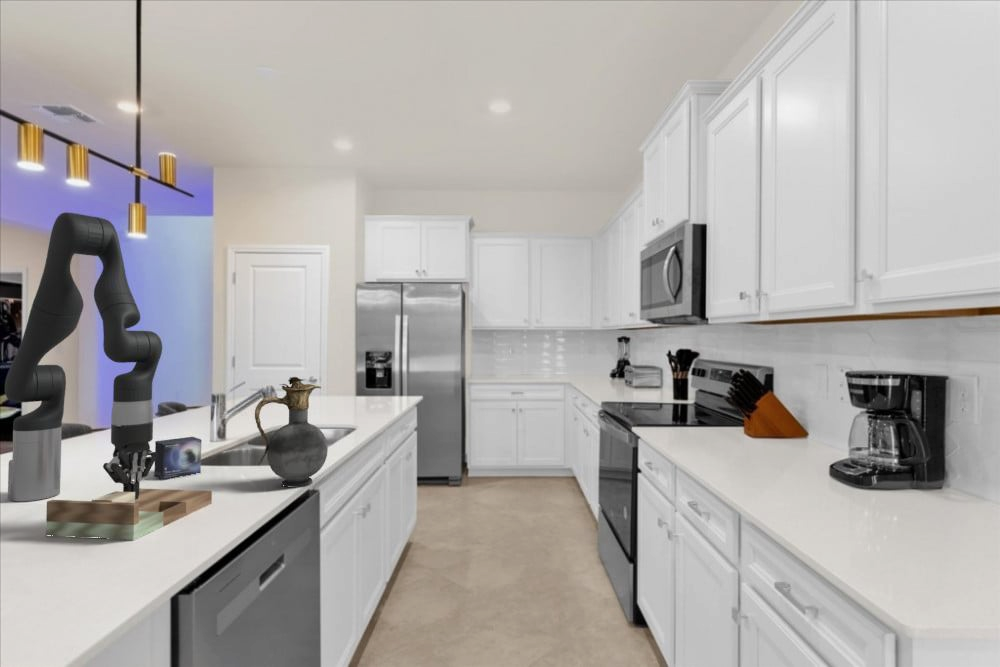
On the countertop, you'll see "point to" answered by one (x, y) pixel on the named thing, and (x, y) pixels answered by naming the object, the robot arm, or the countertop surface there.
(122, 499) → the block
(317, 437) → the pitcher
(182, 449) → the small box
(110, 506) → the wooden compartment tray
